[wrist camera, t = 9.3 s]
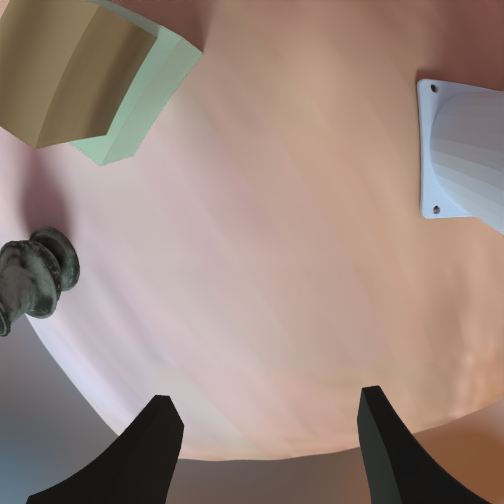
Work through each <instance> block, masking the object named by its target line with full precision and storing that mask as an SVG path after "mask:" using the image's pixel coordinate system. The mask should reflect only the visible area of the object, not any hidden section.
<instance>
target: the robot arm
mask: <svg viewBox="0 0 504 504" xmlns="http://www.w3.org/2000/svg"><path fill="white" fill-rule="evenodd" d="M431 85H434V86H435V92H433V91H432V90H431ZM417 96H418V107H419V121H420V142H421V197H420V212H421V214H422V215H423V216H424V217H426V218H446V217H469V216H475V217H477V218H478V219H480V220H481V221H483V222H485V223H486V224H488V225H489V226H491V227H492V228H494V229H495V230H497V231H498V232H500V233H501V234H503V235H504V91H496V90H492V89H487V88H482V87H477V86H472V85H466V84H460V83H454V82H448V81H441V80H433V79H421V80H419V81H418V83H417ZM435 206H437V207H438V209H437V211H436V212H433V209H434V207H435ZM357 424H358V433H359V442H360V447H361V451H362V456H363V460H364V465H365V469H366V474H367V479H368V483H369V488H370V494H371V504H491V503H489V502H488V501H486V500H484V499H483V498H481V497H479V496H478V495H476V494H475V493H473V492H471V491H470V490H469V489H467V488H466V487H465V486H464V485H462V484H461V483H460V482H458V481H457V480H456V479H455V478H453V477H452V476H451V475H450V474H449V473H447V472H446V471H445V470H444V469H443V468H442V467H441V466H440V465H439V464H438V463H437V462H436V461H435V460H434V459H433V458H432V457H431V456H430V455H429V454H428V453H427V452H426V451H425V449H424V448H423V447H422V446H421V445H420V444H419V443H418V441H417V440H416V439H415V438H414V436H413V435H412V434H411V433H410V431H409V430H408V429H407V427H406V426H405V424H404V423H403V422H402V420H401V419H400V418H399V416H398V415H397V413H396V412H395V410H394V409H393V407H392V406H391V404H390V402H389V401H388V399H387V398H386V396H385V394H384V393H383V391H382V389H381V387H380V386H378V385H377V386H371V387H365V388H362V391H361V398H360V404H359V410H358V416H357ZM183 431H184V424H183V422H182V420H181V418H180V416H179V414H178V412H177V410H176V408H175V406H174V404H173V402H172V400H171V398H170V396H164V395H155V396H154V397H153V398H152V399H151V400H150V402H149V403H148V404H147V405H146V406H145V408H144V409H143V410H142V411H141V412H140V413H139V415H138V416H137V417H136V418H135V419H134V420H133V422H132V423H131V424H130V425H129V426H128V427H127V428H126V429H125V431H124V432H123V433H122V434H121V435H120V436H119V437H118V438H117V439H116V440H115V441H114V442H113V443H112V444H111V445H110V446H109V447H108V448H107V449H106V450H105V451H104V452H103V453H102V454H101V455H99V456H98V457H97V458H96V459H95V460H93V461H92V462H91V463H90V464H88V465H87V466H86V467H84V468H83V469H81V470H80V471H79V472H77V473H75V474H74V475H72V476H71V477H70V478H68V479H66V480H64V481H62V482H60V483H59V484H57V485H55V486H53V487H51V488H49V489H46V490H44V491H41V492H39V493H36V494H34V495H31V496H29V498H28V500H27V502H26V504H165V502H166V497H167V493H168V489H169V485H170V482H171V479H172V475H173V472H174V469H175V466H176V463H177V459H178V456H179V452H180V449H181V444H182V438H183Z"/></svg>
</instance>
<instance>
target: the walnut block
mask: <svg viewBox="0 0 504 504" xmlns="http://www.w3.org/2000/svg"><path fill="white" fill-rule="evenodd" d="M156 40H157V37H155V36H154V35H152V34H150V33H149V32H147V31H145V30H144V29H142V28H140V27H139V26H137V25H135V24H133V23H132V22H130V21H128V20H126V19H124V18H123V17H121V16H119V15H117V14H115V13H114V12H112V11H110V10H108V9H106V8H104V7H102V6H100V5H97V4H93V3H90V2H86V1H82V0H10V1H9V3H8V5H7V7H6V9H5V11H4V13H3V15H2V17H1V19H0V126H1V127H2V128H4V129H5V130H7V131H8V132H10V133H11V134H13V135H14V136H16V137H17V138H19V139H20V140H22V141H23V142H25V143H26V144H28V145H30V146H31V147H33V148H34V149H37V148H41V147H46V146H50V145H55V144H60V143H65V142H70V141H75V140H81V139H86V138H92V137H98V136H105V135H107V133H108V130H109V128H110V126H111V124H112V122H113V119H114V117H115V115H116V113H117V111H118V109H119V107H120V105H121V103H122V101H123V99H124V97H125V95H126V93H127V91H128V89H129V87H130V85H131V83H132V81H133V80H134V78H135V76H136V74H137V72H138V70H139V69H140V67H141V65H142V63H143V62H144V60H145V58H146V56H147V55H148V53H149V51H150V50H151V48H152V46H153V45H154V43H155V41H156Z"/></svg>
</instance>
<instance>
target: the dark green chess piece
mask: <svg viewBox="0 0 504 504" xmlns="http://www.w3.org/2000/svg"><path fill="white" fill-rule="evenodd" d="M79 275H80V266H79V262H78V257H77V255H76V253H75V250H74V248H73V247H72V245H71V244H70V242H69V241H68V239H67V238H66V237H65V236H64V235H63V234H62V233H60V232H59V231H57V230H56V229H53V228H51V227H41V228H39V229H36V230H35V231H34V232H33V233H32V235H31V237H30V240H23V241H10V242H8V243H6V244H5V245H4V246H3V247H2V248H1V250H0V336H7V335H8V334H9V333H10V326H11V325H12V323H14V322H15V321H16V320H17V319H18V318H19V317H20V316H21V315H22V314H24V313H26V314H28V315H30V316H32V317H35V318H39V319H43V318H48V317H49V316H51V315H52V314H53V313H54V311H55V309H56V305H57V301H58V300H59V297H60V294H61V291H68V290H70V289H72V288H73V287H74V286H75V285H76V283H77V282H78V279H79Z"/></svg>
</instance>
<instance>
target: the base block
mask: <svg viewBox="0 0 504 504" xmlns="http://www.w3.org/2000/svg"><path fill="white" fill-rule="evenodd" d="M82 1H86V2H90V3H93V4H97V5H100V6H102V7H104V8H106V9H108V10H110V11H112V12H114V13H115V14H117V15H119V16H121V17H123V18H124V19H126V20H128V21H130V22H132V23H133V24H135V25H137V26H139V27H140V28H142V29H144V30H145V31H147V32H149V33H150V34H152V35H154V36H155V37H157V40H156V41H155V43H154V45H153V46H152V48H151V50H150V51H149V53H148V55H147V56H146V58H145V60H144V62H143V63H142V65H141V67H140V69H139V70H138V72H137V74H136V76H135V78H134V80H133V81H132V83H131V85H130V87H129V89H128V91H127V93H126V95H125V97H124V99H123V101H122V103H121V105H120V107H119V109H118V111H117V113H116V115H115V117H114V119H113V122H112V124H111V126H110V128H109V130H108V133H107V135H105V136H98V137H92V138H86V139H81V140H75V141H70V142H69V143H70V144H72V145H73V146H74V147H76V148H77V149H78V150H80V151H81V152H82V153H83V154H85V155H86V156H87V157H89V158H90V159H91V160H93V161H94V162H95V163H97V164H98V165H99V166H103V165H106V164H109V163H112V162H115V161H118V160H122V159H125V158H128V157H131V156H134V154H135V152H136V151H137V149H138V147H139V146H140V144H141V142H142V141H143V139H144V138H145V136H146V134H147V133H148V131H149V130H150V128H151V126H152V125H153V123H154V122H155V120H156V119H157V117H158V116H159V114H160V112H161V111H162V109H163V108H164V106H165V105H166V104H167V102H168V101H169V99H170V98H171V96H172V95H173V93H174V92H175V91H176V89H177V88H178V86H179V85H180V84H181V82H182V81H183V79H184V78H185V77H186V75H187V74H188V73H189V71H190V70H191V69H192V67H193V66H194V65H195V63H196V62H197V61H198V60H199V58H200V57H201V56H202V54H203V53H202V52H201V51H199V50H198V49H197V48H196V47H194V46H193V45H192V44H191V43H189V42H188V41H187V40H186V39H184V38H183V37H182V36H180V35H178V34H176V33H174V32H173V31H171V30H169V29H167V28H165V27H163V26H161V25H159V24H157V23H155V22H153V21H151V20H149V19H147V18H145V17H143V16H141V15H139V14H137V13H135V12H133V11H131V10H129V9H127V8H124V7H122V6H120V5H118V4H115V3H113V2H111V1H108V0H82Z"/></svg>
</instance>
